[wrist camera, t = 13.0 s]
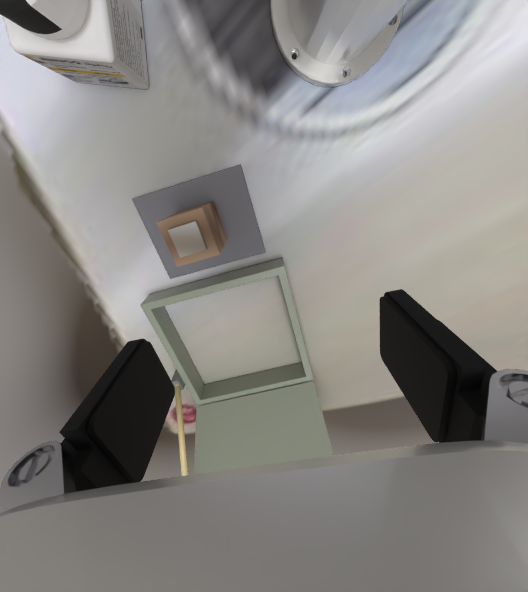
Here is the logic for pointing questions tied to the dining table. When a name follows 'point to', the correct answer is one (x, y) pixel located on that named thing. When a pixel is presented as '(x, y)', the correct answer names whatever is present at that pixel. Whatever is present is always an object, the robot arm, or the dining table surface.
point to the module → (193, 234)
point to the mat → (230, 206)
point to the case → (243, 391)
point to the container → (81, 38)
